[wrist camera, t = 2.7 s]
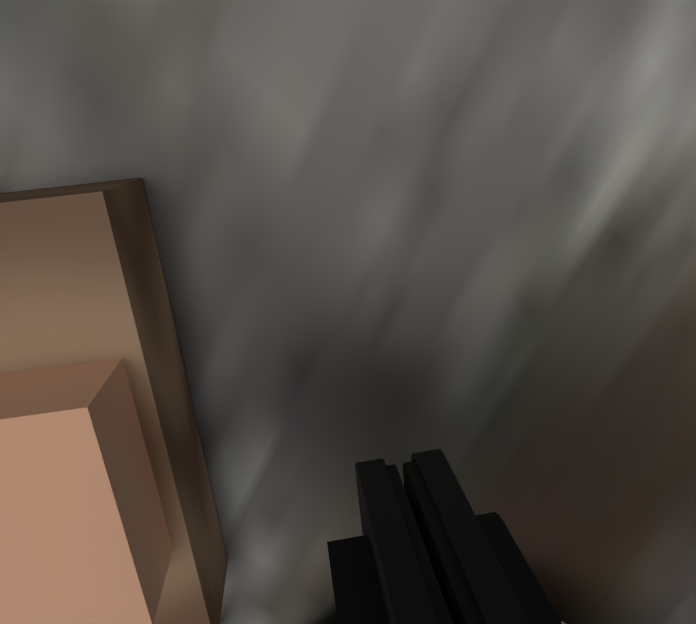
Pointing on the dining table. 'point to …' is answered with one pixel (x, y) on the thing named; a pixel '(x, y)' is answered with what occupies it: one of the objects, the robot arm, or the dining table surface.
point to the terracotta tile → (77, 500)
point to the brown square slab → (115, 351)
